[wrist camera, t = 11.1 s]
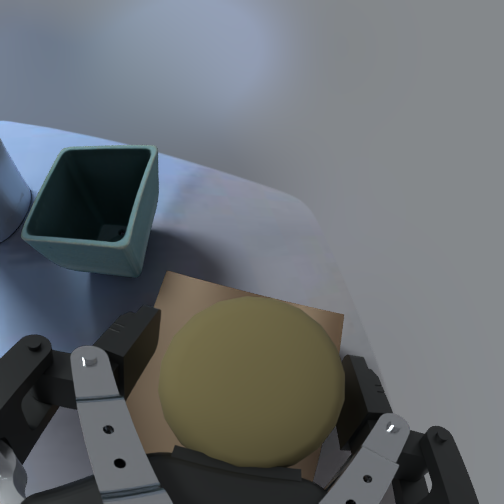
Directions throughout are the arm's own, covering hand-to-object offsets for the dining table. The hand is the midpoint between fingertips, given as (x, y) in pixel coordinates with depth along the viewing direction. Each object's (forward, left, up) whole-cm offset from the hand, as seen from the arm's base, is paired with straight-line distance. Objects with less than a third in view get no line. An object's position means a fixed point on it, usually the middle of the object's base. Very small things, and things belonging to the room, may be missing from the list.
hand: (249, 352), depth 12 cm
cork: (0, -2, -6) cm, 6 cm away
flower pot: (-13, +8, -12) cm, 19 cm away
